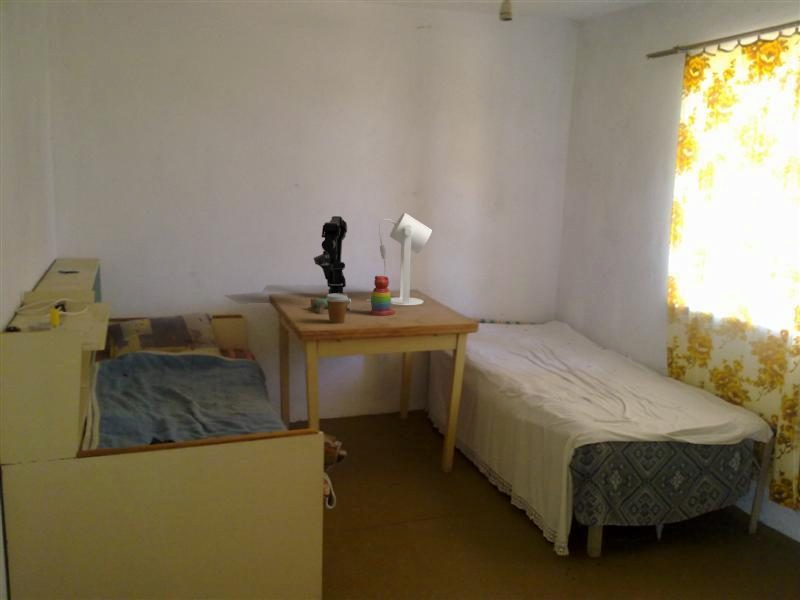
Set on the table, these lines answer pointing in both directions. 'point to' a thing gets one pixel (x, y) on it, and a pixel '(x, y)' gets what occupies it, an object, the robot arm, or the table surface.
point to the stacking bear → (381, 297)
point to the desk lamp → (406, 252)
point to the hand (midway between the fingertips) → (331, 280)
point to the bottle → (327, 304)
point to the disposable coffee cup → (336, 307)
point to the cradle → (320, 307)
